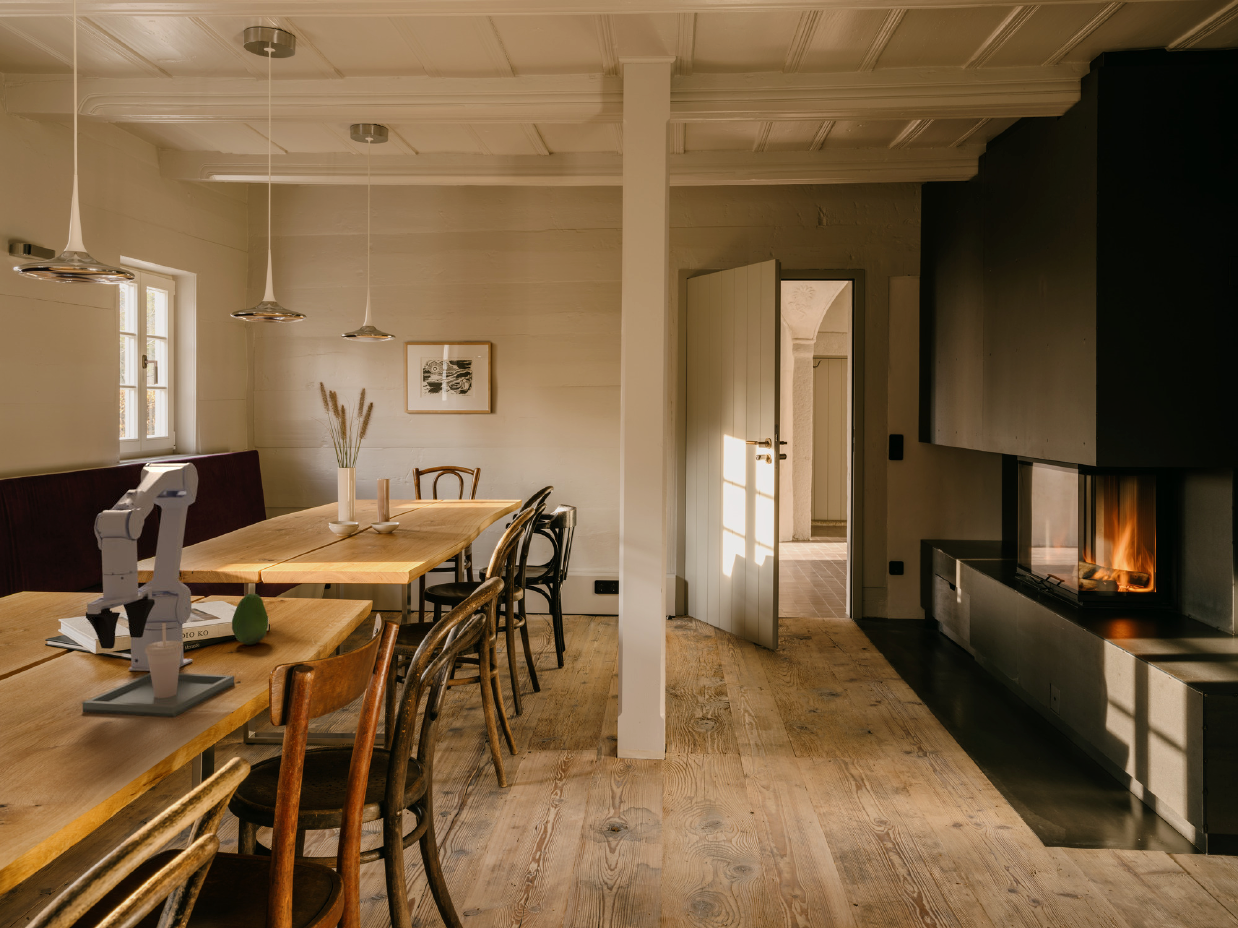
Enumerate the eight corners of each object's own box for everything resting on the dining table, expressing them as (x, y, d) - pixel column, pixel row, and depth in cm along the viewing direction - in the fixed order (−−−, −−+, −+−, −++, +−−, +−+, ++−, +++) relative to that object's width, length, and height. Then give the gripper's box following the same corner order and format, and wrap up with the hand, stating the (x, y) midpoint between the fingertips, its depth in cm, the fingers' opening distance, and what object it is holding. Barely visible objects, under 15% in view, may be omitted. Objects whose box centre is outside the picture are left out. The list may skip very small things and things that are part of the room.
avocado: (275, 639, 196) (274, 590, 195) (257, 649, 188) (256, 597, 187) (243, 638, 196) (242, 589, 196) (224, 647, 189) (223, 597, 188)
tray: (82, 711, 147) (82, 702, 147) (152, 680, 165) (152, 671, 165) (173, 716, 145) (173, 707, 145) (234, 684, 163) (234, 675, 163)
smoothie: (147, 702, 150) (145, 628, 150) (144, 693, 156) (142, 621, 155) (186, 696, 154) (184, 623, 153) (182, 686, 159) (180, 616, 158)
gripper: (111, 580, 147) (113, 653, 148) (165, 566, 161) (167, 633, 162) (75, 579, 148) (78, 652, 149) (132, 565, 162) (134, 631, 163)
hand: (122, 642), depth 155 cm, fingers open, 7 cm apart
